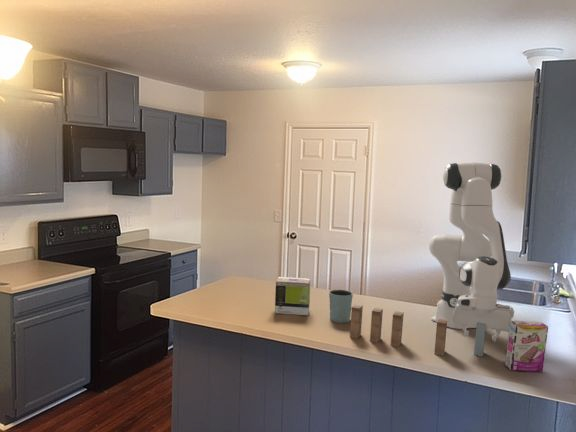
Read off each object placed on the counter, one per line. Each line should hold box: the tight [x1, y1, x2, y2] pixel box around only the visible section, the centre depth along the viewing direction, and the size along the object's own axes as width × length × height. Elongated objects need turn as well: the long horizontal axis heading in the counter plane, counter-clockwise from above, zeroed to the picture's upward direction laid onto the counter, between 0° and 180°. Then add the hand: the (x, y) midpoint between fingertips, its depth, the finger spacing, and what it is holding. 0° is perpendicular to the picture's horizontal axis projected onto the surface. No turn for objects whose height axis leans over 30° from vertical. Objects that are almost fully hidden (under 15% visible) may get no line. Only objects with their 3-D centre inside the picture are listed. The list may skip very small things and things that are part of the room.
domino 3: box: [390, 310, 405, 348], centre depth 185 cm, size 5×3×12 cm, turn 156°
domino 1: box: [349, 303, 364, 340], centre depth 192 cm, size 5×3×12 cm, turn 156°
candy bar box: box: [504, 320, 549, 373], centre depth 167 cm, size 11×5×16 cm, turn 92°
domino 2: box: [369, 307, 384, 344], centre depth 189 cm, size 5×3×12 cm, turn 156°
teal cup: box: [328, 289, 354, 324], centre depth 211 cm, size 10×10×12 cm
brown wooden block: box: [434, 318, 448, 356], centre depth 179 cm, size 5×3×12 cm, turn 156°
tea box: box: [274, 276, 311, 316], centre depth 219 cm, size 15×10×15 cm
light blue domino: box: [473, 323, 487, 357], centre depth 180 cm, size 5×3×12 cm, turn 156°
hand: (479, 338), depth 180 cm, fingers open, 8 cm apart
